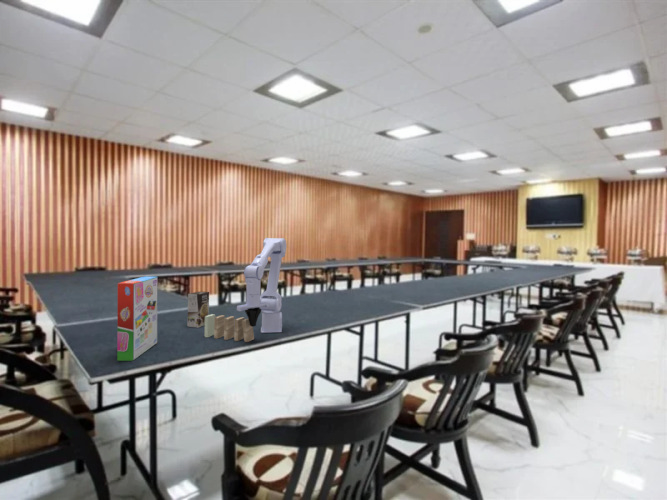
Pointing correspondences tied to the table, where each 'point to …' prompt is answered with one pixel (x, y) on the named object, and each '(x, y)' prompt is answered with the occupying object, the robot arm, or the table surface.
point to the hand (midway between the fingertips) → (252, 325)
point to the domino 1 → (209, 325)
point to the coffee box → (197, 308)
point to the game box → (136, 317)
